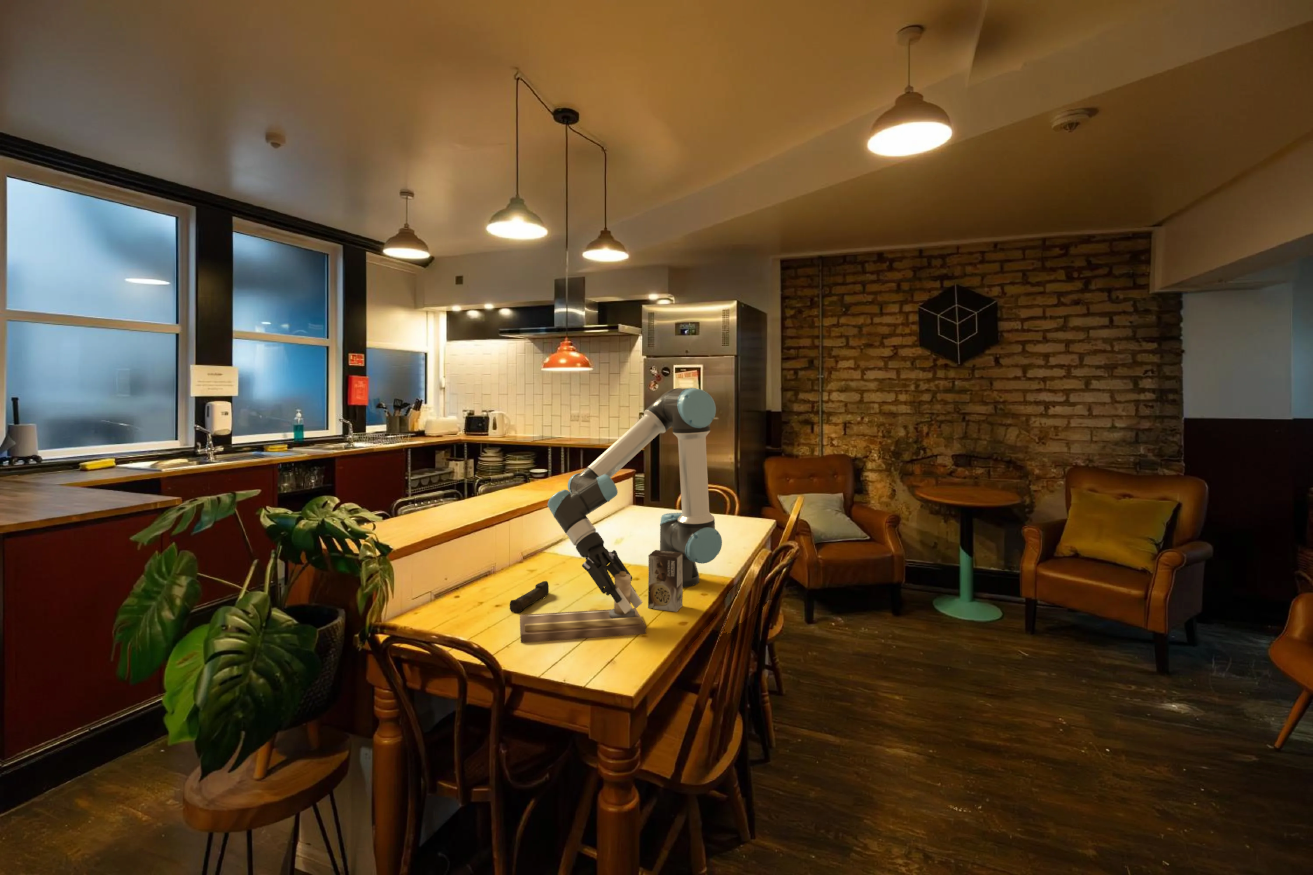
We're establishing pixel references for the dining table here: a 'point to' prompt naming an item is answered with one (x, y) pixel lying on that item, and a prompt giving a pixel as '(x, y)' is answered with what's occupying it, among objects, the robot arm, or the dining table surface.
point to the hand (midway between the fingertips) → (633, 607)
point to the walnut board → (577, 625)
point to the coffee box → (665, 580)
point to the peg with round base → (625, 586)
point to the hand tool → (530, 597)
